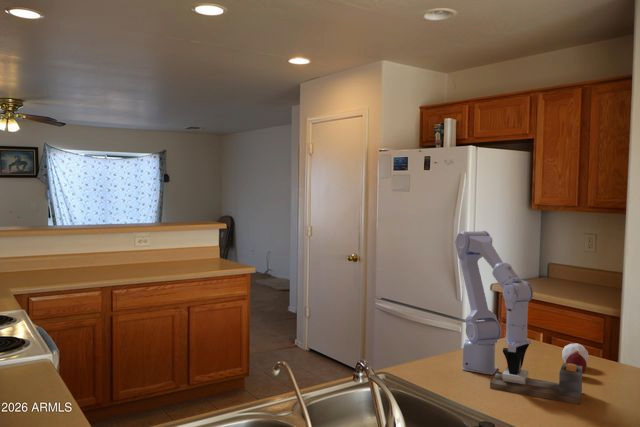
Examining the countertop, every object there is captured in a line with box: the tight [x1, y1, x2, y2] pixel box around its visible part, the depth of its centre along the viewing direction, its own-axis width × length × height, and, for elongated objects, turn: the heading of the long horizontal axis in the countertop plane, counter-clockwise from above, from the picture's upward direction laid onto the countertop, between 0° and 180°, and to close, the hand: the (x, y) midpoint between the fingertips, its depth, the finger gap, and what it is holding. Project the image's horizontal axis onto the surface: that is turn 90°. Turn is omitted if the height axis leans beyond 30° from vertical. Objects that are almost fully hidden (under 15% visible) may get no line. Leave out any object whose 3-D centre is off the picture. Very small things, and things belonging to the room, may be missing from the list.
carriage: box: [502, 361, 529, 385], centre depth 154 cm, size 6×7×6 cm
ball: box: [561, 342, 589, 364], centre depth 173 cm, size 8×8×8 cm
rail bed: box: [489, 362, 583, 405], centre depth 151 cm, size 23×10×8 cm, turn 60°
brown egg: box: [565, 363, 577, 372], centre depth 147 cm, size 3×3×4 cm
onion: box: [565, 350, 588, 374], centre depth 163 cm, size 6×6×8 cm
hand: (515, 370), depth 154 cm, fingers open, 6 cm apart
